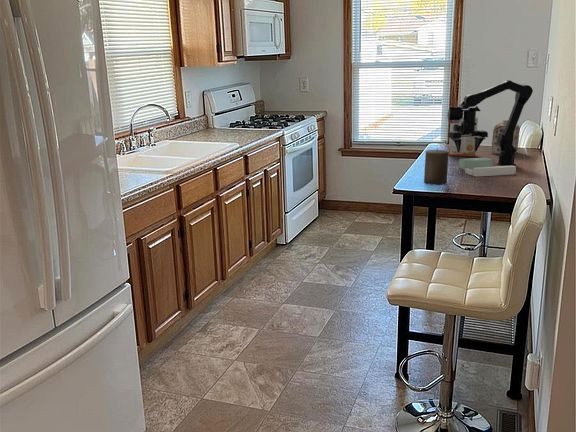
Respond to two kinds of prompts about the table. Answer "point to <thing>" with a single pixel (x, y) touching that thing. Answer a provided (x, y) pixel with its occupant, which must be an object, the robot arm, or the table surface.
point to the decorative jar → (499, 129)
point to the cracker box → (462, 141)
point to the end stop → (491, 171)
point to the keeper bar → (474, 163)
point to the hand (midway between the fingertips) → (466, 151)
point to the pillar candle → (436, 167)
